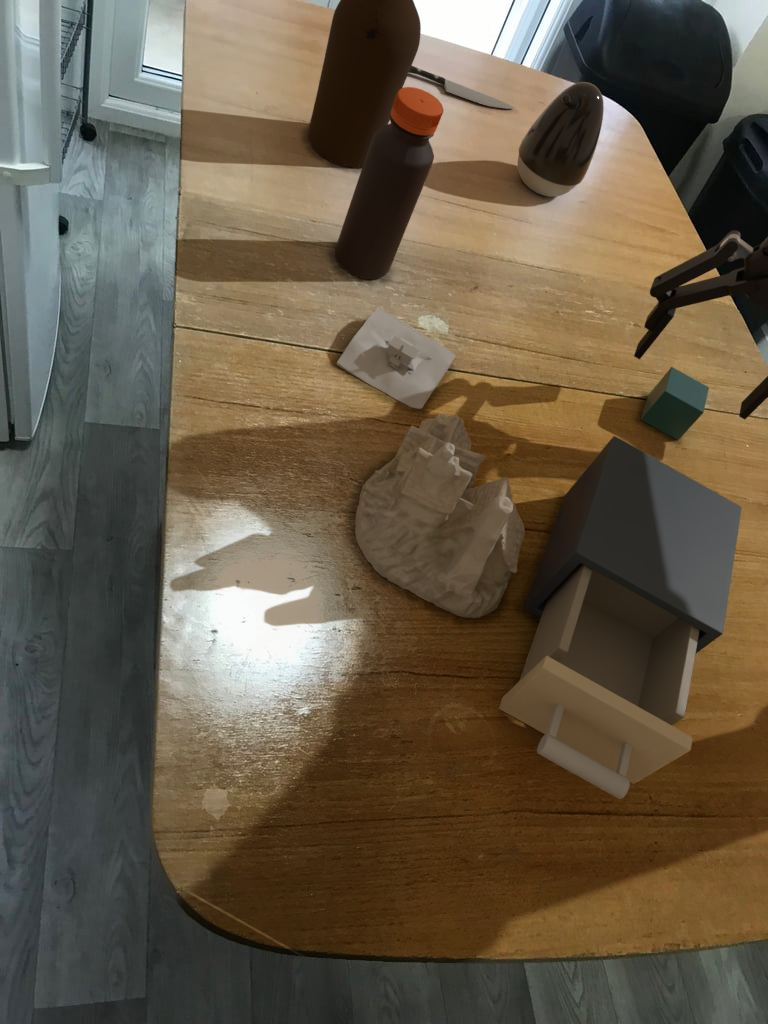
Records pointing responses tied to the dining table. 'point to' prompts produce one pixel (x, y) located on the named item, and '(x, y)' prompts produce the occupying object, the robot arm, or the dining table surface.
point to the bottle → (389, 185)
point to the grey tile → (396, 359)
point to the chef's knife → (462, 90)
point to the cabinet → (645, 537)
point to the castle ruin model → (440, 522)
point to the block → (675, 403)
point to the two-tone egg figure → (562, 141)
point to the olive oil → (362, 75)
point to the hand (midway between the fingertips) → (690, 381)
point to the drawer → (606, 682)
